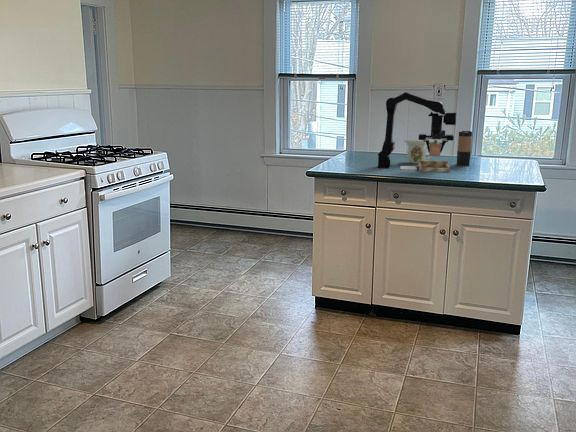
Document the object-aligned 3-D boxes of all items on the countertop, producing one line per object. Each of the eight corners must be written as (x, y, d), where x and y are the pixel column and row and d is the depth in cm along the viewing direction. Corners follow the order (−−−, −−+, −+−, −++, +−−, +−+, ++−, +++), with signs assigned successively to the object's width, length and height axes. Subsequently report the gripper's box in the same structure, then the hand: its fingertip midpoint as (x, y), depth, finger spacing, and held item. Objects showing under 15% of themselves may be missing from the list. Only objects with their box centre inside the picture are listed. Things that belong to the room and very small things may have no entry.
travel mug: (470, 166, 330) (473, 132, 325) (456, 166, 332) (459, 132, 326) (468, 164, 337) (471, 131, 332) (455, 164, 339) (458, 130, 334)
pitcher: (433, 165, 335) (435, 142, 332) (402, 164, 338) (403, 141, 334) (432, 162, 346) (433, 139, 342) (402, 161, 348) (403, 139, 345)
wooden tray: (419, 172, 314) (419, 165, 313) (418, 167, 330) (418, 160, 329) (449, 173, 311) (450, 165, 310) (447, 167, 327) (447, 161, 326)
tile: (400, 170, 319) (400, 168, 319) (400, 167, 328) (400, 165, 328) (416, 170, 318) (416, 169, 318) (416, 168, 326) (416, 166, 326)
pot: (428, 155, 316) (429, 140, 313) (428, 154, 322) (429, 138, 320) (441, 156, 314) (442, 140, 312) (440, 154, 321) (441, 139, 319)
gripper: (420, 125, 308) (418, 154, 312) (455, 126, 305) (453, 155, 309) (419, 123, 318) (417, 151, 322) (453, 124, 315) (451, 152, 319)
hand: (434, 152), depth 318 cm, fingers closed on pot, 6 cm apart
